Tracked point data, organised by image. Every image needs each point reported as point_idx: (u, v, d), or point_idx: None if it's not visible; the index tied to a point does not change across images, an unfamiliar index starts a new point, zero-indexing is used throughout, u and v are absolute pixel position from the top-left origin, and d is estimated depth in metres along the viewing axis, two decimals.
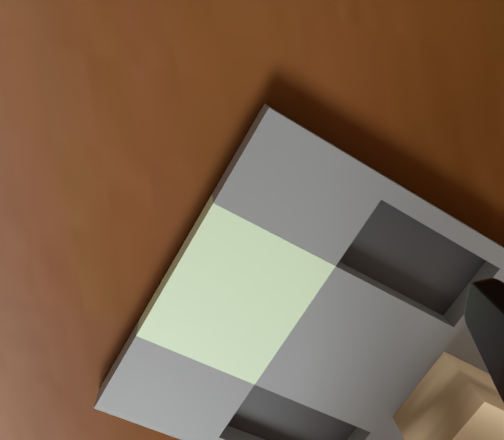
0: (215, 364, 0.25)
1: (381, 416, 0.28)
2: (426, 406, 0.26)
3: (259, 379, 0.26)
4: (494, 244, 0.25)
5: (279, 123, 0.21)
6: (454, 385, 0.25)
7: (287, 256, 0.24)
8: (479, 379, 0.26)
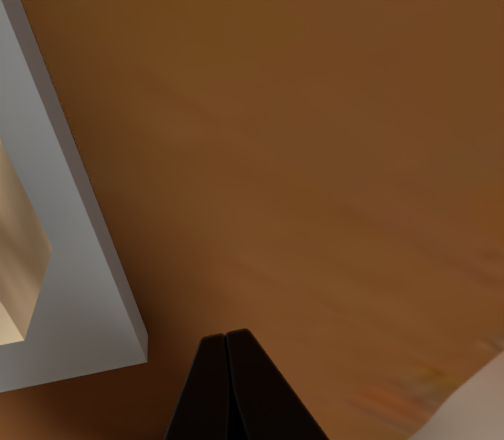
0: None
1: None
2: None
3: None
4: None
5: None
6: None
7: None
8: None
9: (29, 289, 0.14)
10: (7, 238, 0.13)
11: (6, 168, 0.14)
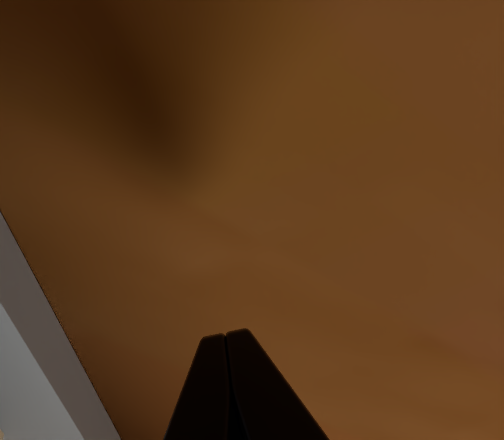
0: None
1: None
2: None
3: None
4: None
5: None
6: None
7: None
8: None
9: None
10: None
11: None
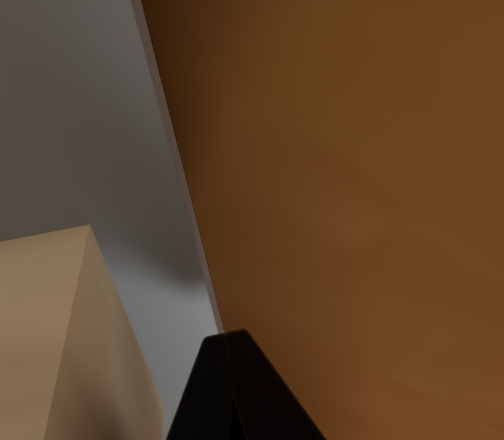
0: None
1: None
2: None
3: None
4: None
5: None
6: None
7: None
8: None
9: None
10: None
11: (117, 316, 0.08)
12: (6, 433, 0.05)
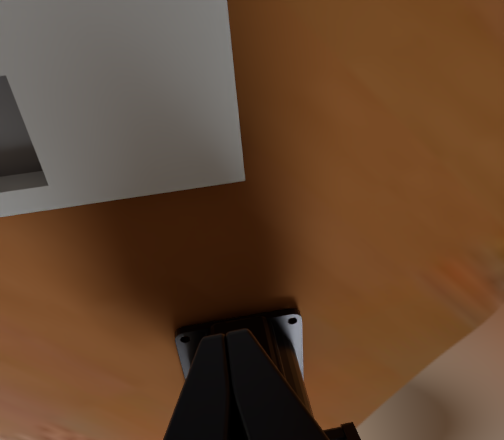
0: None
1: None
2: None
3: None
4: None
5: None
6: None
7: None
8: None
9: None
10: None
11: None
12: None
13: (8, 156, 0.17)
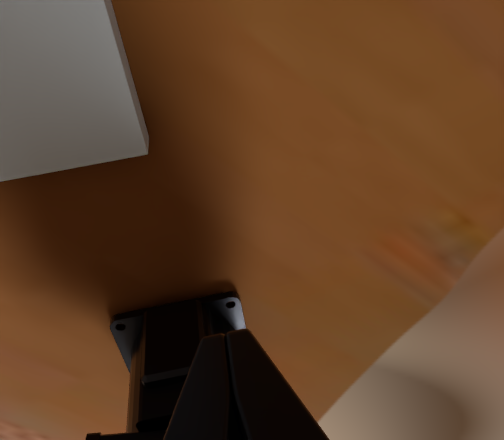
0: None
1: None
2: None
3: None
4: None
5: None
6: None
7: None
8: None
9: None
10: None
11: None
12: None
13: None
